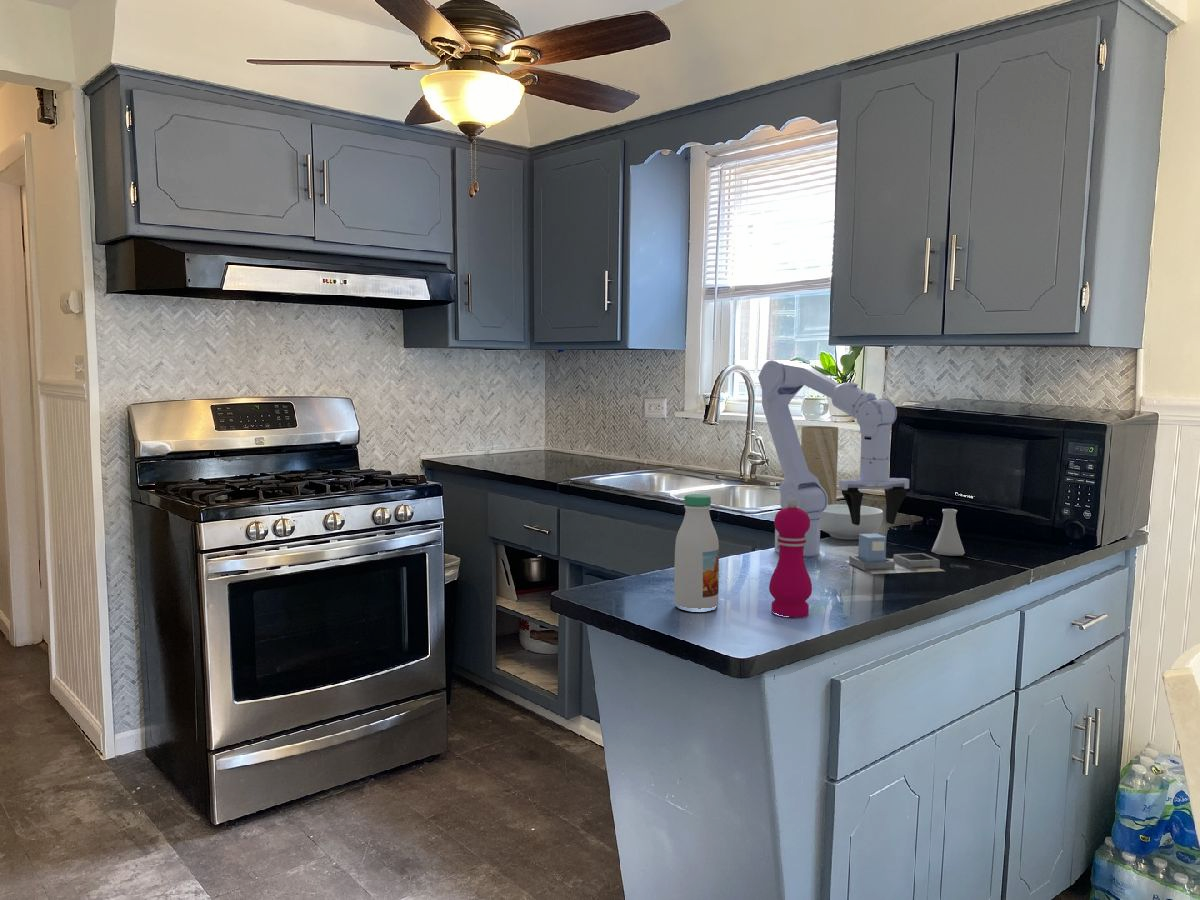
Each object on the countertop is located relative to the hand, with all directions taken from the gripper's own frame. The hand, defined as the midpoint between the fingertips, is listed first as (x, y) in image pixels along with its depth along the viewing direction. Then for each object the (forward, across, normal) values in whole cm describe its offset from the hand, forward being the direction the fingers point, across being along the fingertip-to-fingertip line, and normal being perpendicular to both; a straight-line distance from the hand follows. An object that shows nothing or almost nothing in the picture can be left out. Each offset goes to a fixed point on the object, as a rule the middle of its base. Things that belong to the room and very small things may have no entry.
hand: (873, 523), depth 183 cm
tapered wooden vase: (+10, +16, +64) cm, 67 cm away
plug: (+9, 0, 0) cm, 9 cm away
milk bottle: (+10, -44, -20) cm, 49 cm away
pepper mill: (+10, -28, -26) cm, 40 cm away
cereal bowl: (+10, +12, +36) cm, 39 cm away
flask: (+10, +26, +14) cm, 31 cm away
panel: (+10, +5, 0) cm, 11 cm away
